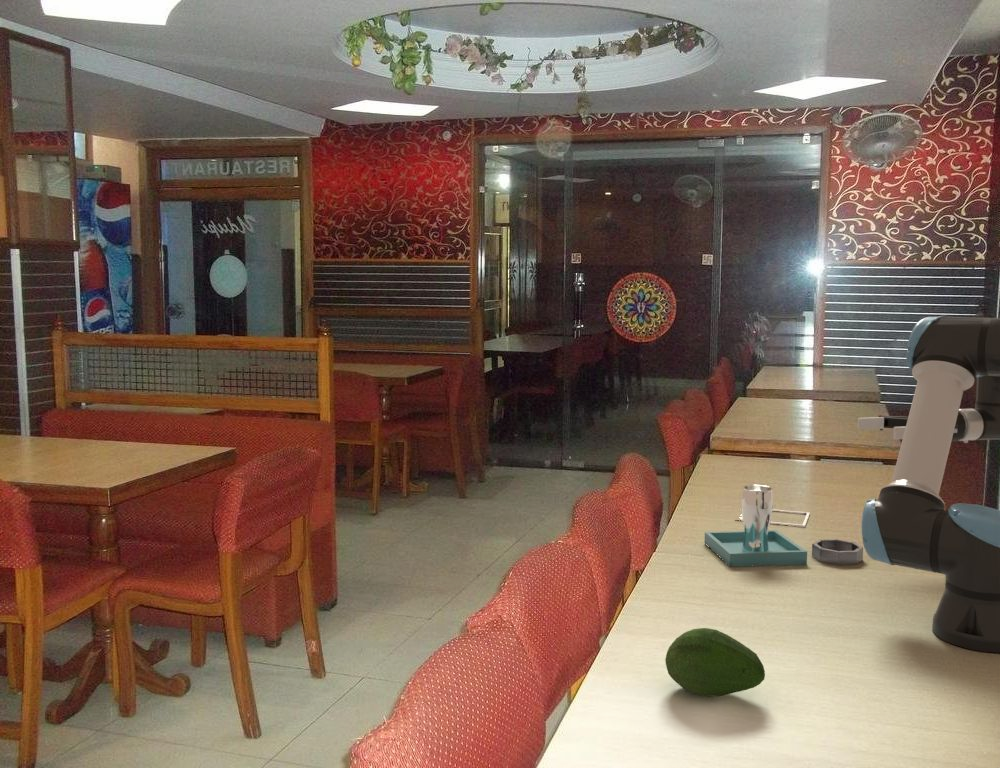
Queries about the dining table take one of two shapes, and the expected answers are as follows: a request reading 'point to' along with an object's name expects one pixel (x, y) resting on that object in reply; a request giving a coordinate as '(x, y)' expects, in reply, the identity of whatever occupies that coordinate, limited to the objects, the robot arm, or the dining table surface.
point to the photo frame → (789, 523)
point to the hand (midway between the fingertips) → (875, 428)
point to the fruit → (713, 663)
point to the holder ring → (837, 552)
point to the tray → (733, 555)
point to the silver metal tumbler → (756, 517)
